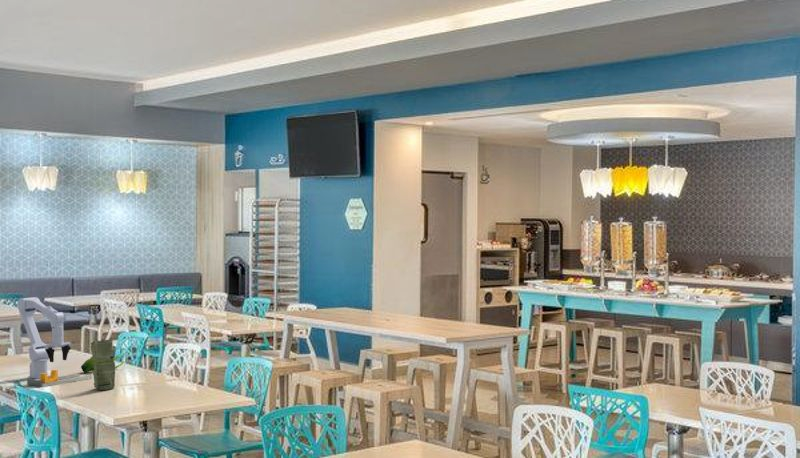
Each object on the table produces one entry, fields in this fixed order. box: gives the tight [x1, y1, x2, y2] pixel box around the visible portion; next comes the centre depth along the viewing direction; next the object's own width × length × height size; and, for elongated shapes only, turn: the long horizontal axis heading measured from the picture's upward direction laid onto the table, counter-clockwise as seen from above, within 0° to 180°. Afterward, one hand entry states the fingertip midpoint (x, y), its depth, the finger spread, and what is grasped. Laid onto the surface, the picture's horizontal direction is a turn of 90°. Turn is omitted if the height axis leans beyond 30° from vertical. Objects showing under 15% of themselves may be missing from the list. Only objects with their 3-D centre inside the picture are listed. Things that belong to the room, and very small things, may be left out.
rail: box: [26, 373, 93, 388], centre depth 482 cm, size 12×30×3 cm, turn 144°
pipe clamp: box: [39, 369, 59, 383], centre depth 476 cm, size 12×4×6 cm, turn 170°
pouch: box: [90, 337, 116, 391], centre depth 460 cm, size 11×12×25 cm
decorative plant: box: [80, 346, 131, 374], centre depth 520 cm, size 18×30×15 cm, turn 115°
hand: (58, 361), depth 488 cm, fingers open, 7 cm apart
